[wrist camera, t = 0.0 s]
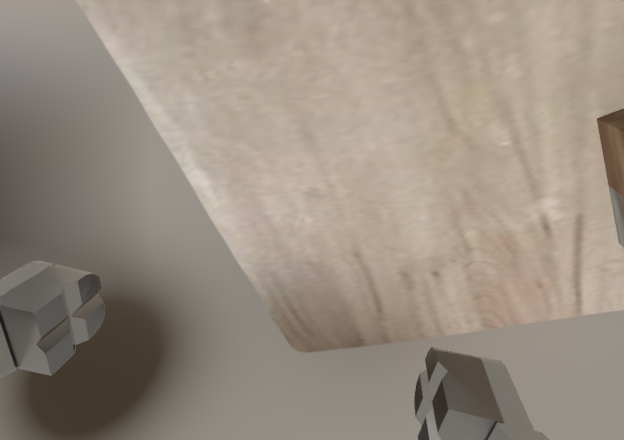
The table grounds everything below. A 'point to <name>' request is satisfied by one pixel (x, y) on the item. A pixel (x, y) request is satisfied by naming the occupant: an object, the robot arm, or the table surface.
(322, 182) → the table surface
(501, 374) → the robot arm
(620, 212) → the stepped stand
